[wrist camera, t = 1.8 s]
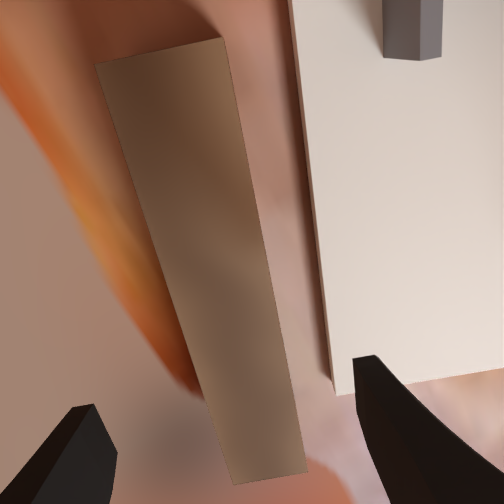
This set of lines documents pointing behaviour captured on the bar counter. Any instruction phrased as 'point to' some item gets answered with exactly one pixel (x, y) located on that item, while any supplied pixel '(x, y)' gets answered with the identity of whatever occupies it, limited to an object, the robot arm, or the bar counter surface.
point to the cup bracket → (406, 180)
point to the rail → (209, 245)
